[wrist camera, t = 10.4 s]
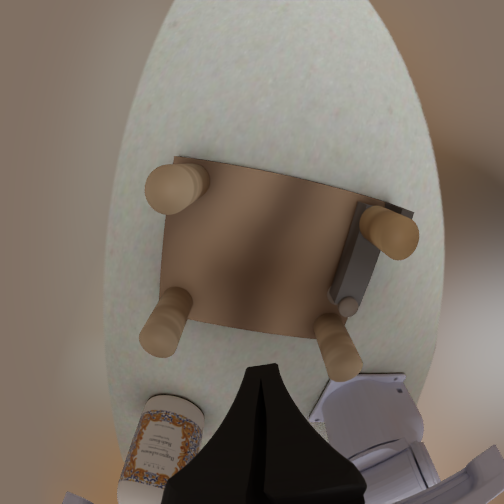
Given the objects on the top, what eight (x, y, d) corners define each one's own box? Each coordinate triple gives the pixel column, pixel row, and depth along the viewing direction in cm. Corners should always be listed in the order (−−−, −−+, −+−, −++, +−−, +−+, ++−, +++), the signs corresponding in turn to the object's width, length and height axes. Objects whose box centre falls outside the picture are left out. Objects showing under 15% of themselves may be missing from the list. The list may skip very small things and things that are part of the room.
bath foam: (206, 399, 25) (181, 575, 6) (203, 431, 27) (185, 573, 8) (143, 386, 25) (88, 546, 6) (149, 420, 27) (111, 553, 8)
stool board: (390, 203, 19) (439, 222, 12) (344, 335, 22) (367, 385, 16) (178, 156, 18) (143, 155, 12) (162, 306, 21) (135, 354, 15)
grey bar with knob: (351, 304, 20) (374, 343, 15) (323, 300, 20) (342, 340, 15) (384, 206, 17) (424, 223, 13) (356, 197, 17) (390, 211, 12)
